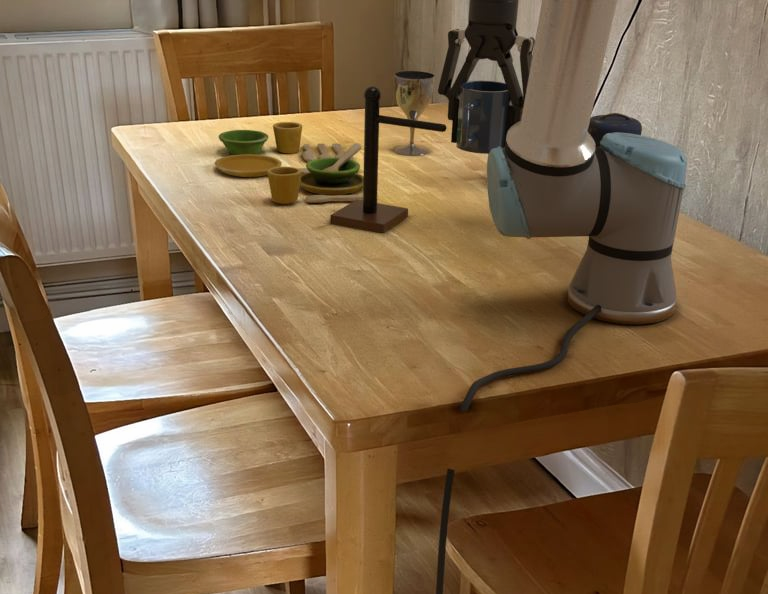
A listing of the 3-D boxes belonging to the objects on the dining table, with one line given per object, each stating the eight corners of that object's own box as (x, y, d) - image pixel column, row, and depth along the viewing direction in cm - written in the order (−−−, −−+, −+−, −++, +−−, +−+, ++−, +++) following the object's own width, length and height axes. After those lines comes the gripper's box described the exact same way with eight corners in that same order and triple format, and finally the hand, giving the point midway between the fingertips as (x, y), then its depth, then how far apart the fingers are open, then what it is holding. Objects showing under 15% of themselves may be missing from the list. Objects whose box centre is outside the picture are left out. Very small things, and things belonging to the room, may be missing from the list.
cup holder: (428, 241, 173) (435, 102, 161) (330, 223, 179) (330, 88, 167) (451, 224, 181) (459, 90, 169) (356, 207, 187) (358, 77, 175)
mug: (467, 137, 178) (472, 78, 173) (515, 144, 175) (521, 84, 170) (436, 155, 168) (440, 92, 163) (487, 163, 165) (492, 100, 160)
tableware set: (377, 205, 188) (378, 169, 185) (220, 209, 184) (218, 172, 181) (344, 144, 223) (344, 113, 219) (211, 146, 218) (209, 115, 215)
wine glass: (406, 143, 225) (409, 69, 217) (437, 150, 221) (442, 74, 213) (384, 151, 219) (387, 75, 211) (416, 158, 215) (419, 80, 207)
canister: (627, 230, 181) (645, 121, 171) (572, 225, 182) (586, 117, 173) (628, 213, 189) (644, 109, 179) (574, 208, 190) (588, 104, 181)
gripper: (569, -2, 160) (551, 149, 173) (440, -15, 168) (432, 131, 180) (553, 4, 155) (536, 160, 167) (420, -10, 162) (413, 140, 174)
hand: (482, 144), depth 174 cm, fingers closed on mug, 9 cm apart
